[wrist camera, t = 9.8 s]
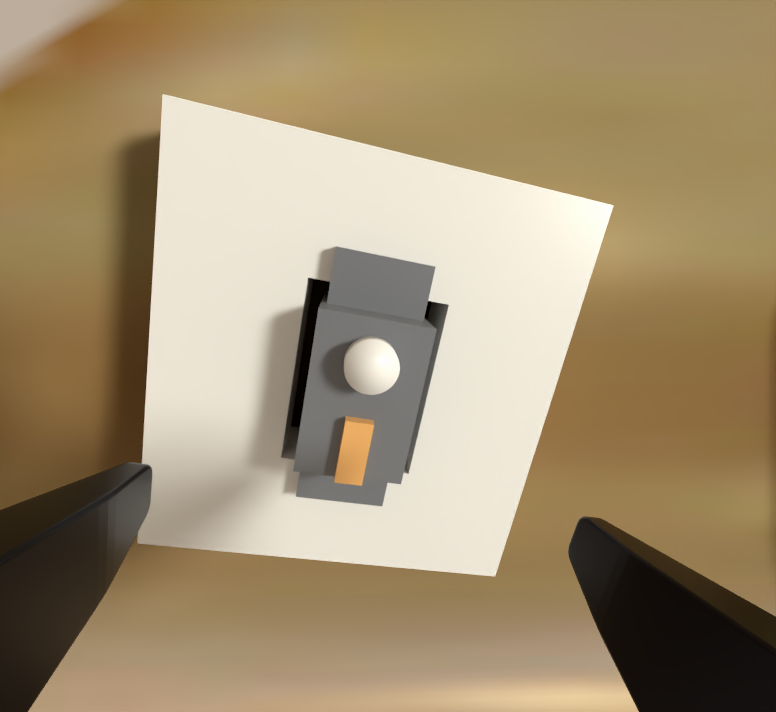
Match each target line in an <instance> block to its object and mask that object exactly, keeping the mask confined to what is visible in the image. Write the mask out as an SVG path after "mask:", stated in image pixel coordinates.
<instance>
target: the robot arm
mask: <svg viewBox="0 0 776 712" xmlns="http://www.w3.org/2000/svg"><path fill="white" fill-rule="evenodd" d="M151 488H152V468H151V466H150V465H148V464H141V463H133V462H127V463H124V464H121V465H119V466H116V467H113V468H111V469H108V470H105V471H103V472H100V473H97V474H95V475H92V476H89V477H87V478H84V479H81V480H79V481H76V482H73V483H71V484H68V485H65V486H63V487H60V488H57V489H55V490H52V491H50V492H47V493H44V494H42V495H39V496H36V497H34V498H31V499H28V500H26V501H23V502H20V503H18V504H15V505H12V506H10V507H7V508H4V509H2V510H0V712H28V711H29V709H30V708H31V706H32V705H33V703H34V702H35V700H36V698H37V697H38V695H39V694H40V692H41V691H42V689H43V688H44V686H45V685H46V683H47V682H48V680H49V679H50V677H51V676H52V674H53V673H54V671H55V670H56V668H57V667H58V665H59V664H60V662H61V661H62V659H63V658H64V656H65V655H66V653H67V652H68V650H69V649H70V647H71V646H72V644H73V643H74V641H75V639H76V638H77V636H78V635H79V633H80V632H81V630H82V629H83V627H84V626H85V624H86V623H87V621H88V620H89V618H90V617H91V615H92V614H93V612H94V611H95V609H96V608H97V606H98V605H99V603H100V601H101V600H102V598H103V597H104V595H105V593H106V592H107V590H108V588H109V586H110V584H111V583H112V581H113V579H114V577H115V575H116V573H117V571H118V569H119V567H120V566H121V564H122V562H123V560H124V558H125V556H126V554H127V552H128V550H129V548H130V547H131V545H132V543H133V541H134V539H135V537H136V535H137V533H138V531H139V529H140V527H141V526H142V524H143V522H144V520H145V518H146V516H147V514H148V511H149V508H150V503H151ZM568 553H569V559H570V562H571V564H572V567H573V569H574V571H575V574H576V576H577V579H578V581H579V584H580V586H581V589H582V591H583V594H584V596H585V599H586V601H587V604H588V606H589V609H590V611H591V614H592V616H593V619H594V621H595V623H596V626H597V628H598V630H599V632H600V634H601V637H602V639H603V641H604V643H605V645H606V647H607V649H608V651H609V653H610V655H611V657H612V659H613V661H614V663H615V665H616V667H617V669H618V671H619V673H620V675H621V677H622V679H623V681H624V683H625V685H626V687H627V689H628V691H629V693H630V695H631V697H632V699H633V701H634V703H635V705H636V707H637V709H638V711H639V712H776V617H775V616H773V615H772V614H770V613H768V612H766V611H765V610H763V609H761V608H759V607H757V606H756V605H754V604H752V603H750V602H749V601H747V600H745V599H743V598H741V597H740V596H738V595H736V594H734V593H733V592H731V591H729V590H727V589H725V588H724V587H722V586H720V585H718V584H717V583H715V582H713V581H711V580H710V579H708V578H706V577H704V576H702V575H701V574H699V573H697V572H695V571H694V570H692V569H690V568H688V567H686V566H685V565H683V564H681V563H679V562H678V561H676V560H674V559H672V558H670V557H669V556H667V555H665V554H663V553H662V552H660V551H658V550H656V549H654V548H653V547H651V546H649V545H647V544H646V543H644V542H642V541H640V540H638V539H637V538H635V537H633V536H631V535H630V534H628V533H626V532H624V531H622V530H621V529H619V528H617V527H615V526H614V525H612V524H610V523H608V522H606V521H605V520H603V519H600V518H595V517H582V518H580V519H579V521H578V523H577V526H576V528H575V531H574V534H573V536H572V539H571V542H570V545H569V550H568Z"/></svg>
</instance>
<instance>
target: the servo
mask: <svg viewBox="0 0 776 712" xmlns="http://www.w3.org/2000/svg"><path fill="white" fill-rule="evenodd" d="M435 268H436V267H435V266H430V265H425V264H420V263H415V262H410V261H406V260H401V259H396V258H391V257H386V256H381V255H376V254H371V253H366V252H362V251H357V250H352V249H347V248H342V247H337V246H336V249H335V255H334V262H333V268H332V274H331V280H330V286H329V292H327V291H326V293H325V295H324V297H323V299H322V302H321V304H320V306H319V308H318V314H317V321H316V327H315V333H314V340H313V346H312V353H311V359H310V365H309V372H308V378H307V385H306V391H305V397H304V404H303V410H302V416H301V423H300V429H299V436H298V442H297V448H296V455H295V461H294V468H293V471H294V472H300V473H299V479H298V485H297V491H296V497H302V498H311V499H320V500H329V501H338V502H347V503H356V504H365V505H374V506H383V501H384V497H385V492H386V488H387V483H394V484H401V482H402V478H403V473H404V469H405V465H406V460H407V456H408V452H409V448H410V443H411V439H412V435H413V430H414V426H415V422H416V417H417V413H418V409H419V404H420V400H421V396H422V391H423V387H424V383H425V379H426V374H427V370H428V366H429V361H430V357H431V353H432V348H433V344H434V340H435V335H436V331H437V329H436V328H435V327H434V326H433V325H432V324H431V323H430V322H428V321H427V320H426V319H425V318H424V317H425V312H426V308H427V303H428V299H429V294H430V290H431V285H432V281H433V277H434V272H435Z"/></svg>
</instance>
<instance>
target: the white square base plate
mask: <svg viewBox="0 0 776 712" xmlns="http://www.w3.org/2000/svg"><path fill="white" fill-rule="evenodd" d="M612 208H613V205H610V204H606V203H602V202H598V201H594V200H590V199H586V198H582V197H577V196H573V195H569V194H565V193H561V192H557V191H553V190H549V189H545V188H541V187H537V186H533V185H529V184H525V183H521V182H517V181H513V180H509V179H505V178H501V177H497V176H492V175H488V174H484V173H480V172H476V171H472V170H468V169H464V168H460V167H456V166H452V165H448V164H444V163H440V162H436V161H432V160H428V159H424V158H420V157H416V156H411V155H407V154H403V153H399V152H395V151H391V150H387V149H383V148H379V147H375V146H371V145H367V144H363V143H359V142H355V141H351V140H347V139H343V138H339V137H335V136H331V135H326V134H322V133H318V132H314V131H310V130H306V129H302V128H298V127H294V126H290V125H286V124H282V123H278V122H274V121H270V120H266V119H262V118H258V117H254V116H250V115H246V114H241V113H237V112H233V111H229V110H225V109H221V108H217V107H213V106H209V105H205V104H201V103H197V102H193V101H189V100H185V99H181V98H177V97H173V96H169V95H165V94H163V100H162V117H161V135H160V153H159V170H158V188H157V206H156V224H155V241H154V259H153V277H152V294H151V312H150V330H149V347H148V365H147V383H146V400H145V418H144V436H143V453H142V464H148V465H150V466H151V468H152V488H151V503H150V508H149V511H148V514H147V516H146V518H145V520H144V522H143V524H142V526H141V527H140V529H139V531H138V542H137V543H138V544H149V545H160V546H171V547H182V548H193V549H204V550H214V551H225V552H236V553H247V554H258V555H269V556H280V557H290V558H301V559H312V560H323V561H334V562H345V563H356V564H366V565H377V566H388V567H399V568H410V569H421V570H432V571H442V572H453V573H464V574H475V575H486V576H495V575H496V572H497V569H498V566H499V562H500V559H501V556H502V553H503V550H504V547H505V544H506V540H507V537H508V534H509V531H510V528H511V525H512V522H513V519H514V515H515V512H516V509H517V506H518V503H519V500H520V497H521V493H522V490H523V487H524V484H525V481H526V478H527V475H528V472H529V468H530V465H531V462H532V459H533V456H534V453H535V450H536V447H537V443H538V440H539V437H540V434H541V431H542V428H543V425H544V421H545V418H546V415H547V412H548V409H549V406H550V403H551V400H552V396H553V393H554V390H555V387H556V384H557V381H558V378H559V374H560V371H561V368H562V365H563V362H564V359H565V356H566V353H567V349H568V346H569V343H570V340H571V337H572V334H573V331H574V327H575V324H576V321H577V318H578V315H579V312H580V309H581V306H582V302H583V299H584V296H585V293H586V290H587V287H588V284H589V280H590V277H591V274H592V271H593V268H594V265H595V262H596V259H597V255H598V252H599V249H600V246H601V243H602V240H603V237H604V234H605V230H606V227H607V224H608V221H609V218H610V215H611V212H612ZM336 246H337V247H342V248H347V249H352V250H357V251H362V252H366V253H371V254H376V255H381V256H386V257H391V258H396V259H401V260H406V261H410V262H415V263H420V264H425V265H430V266H435V267H436V268H435V272H434V277H433V281H432V285H431V290H430V294H429V299H428V301H432V302H431V306H430V311H429V315H428V319H427V321H428V322H430V323H431V324H432V325H433V326H434V327H435V328H436V329H437V331H436V335H435V340H434V344H433V348H432V353H431V357H430V361H429V366H428V370H427V374H426V379H425V383H424V387H423V391H422V396H421V400H420V404H419V409H418V413H417V417H416V422H415V426H414V430H413V435H412V439H411V443H410V448H409V452H408V456H407V460H406V465H405V469H404V473H403V478H402V482H401V484H394V483H387V488H386V492H385V497H384V501H383V506H374V505H365V504H356V503H347V502H338V501H329V500H320V499H311V498H302V497H296V491H297V485H298V479H299V473H300V472H294V471H293V468H294V461H295V455H296V448H297V442H298V436H299V429H300V427H293V426H291V422H292V416H293V409H294V403H295V396H296V390H297V383H298V377H299V370H300V364H301V357H302V351H303V344H304V338H305V331H306V325H307V318H308V312H309V305H310V299H311V292H312V285H313V279H318V280H323V281H329V282H330V280H331V274H332V268H333V262H334V255H335V249H336Z"/></svg>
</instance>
